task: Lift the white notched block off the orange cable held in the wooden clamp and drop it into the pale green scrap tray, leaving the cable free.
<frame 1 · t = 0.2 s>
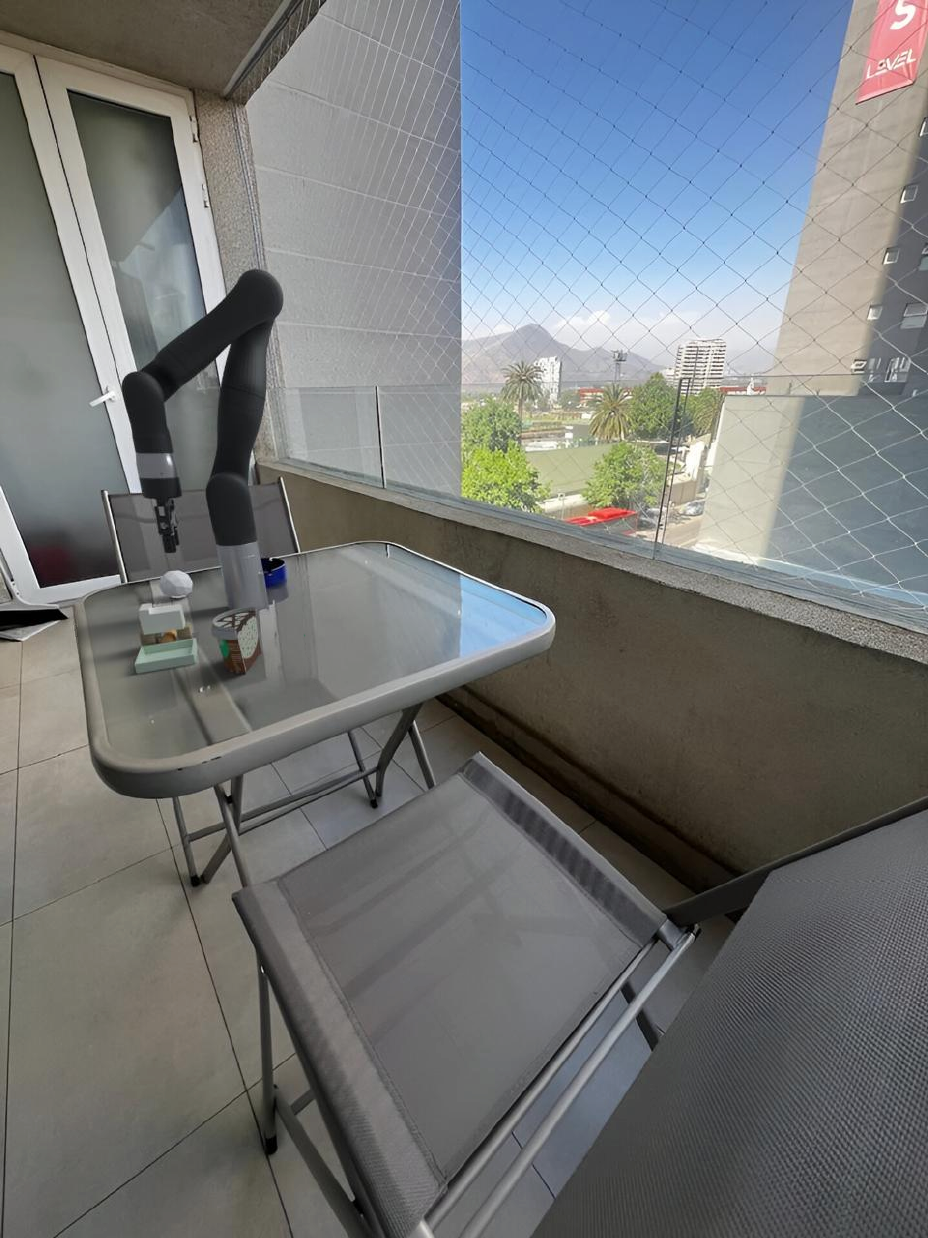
hand: (172, 549, 111), 17 cm above the table, tool pointing down, fingers open, 8 cm apart
mat: (171, 653, 99), on the table
food container: (238, 667, 93), on the table
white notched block: (165, 628, 100), point 5 cm above the table, touching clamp
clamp: (169, 645, 101), resting on mat
ball: (179, 598, 133), on the table
tray: (169, 659, 95), resting on mat
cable: (170, 642, 103), resting on mat
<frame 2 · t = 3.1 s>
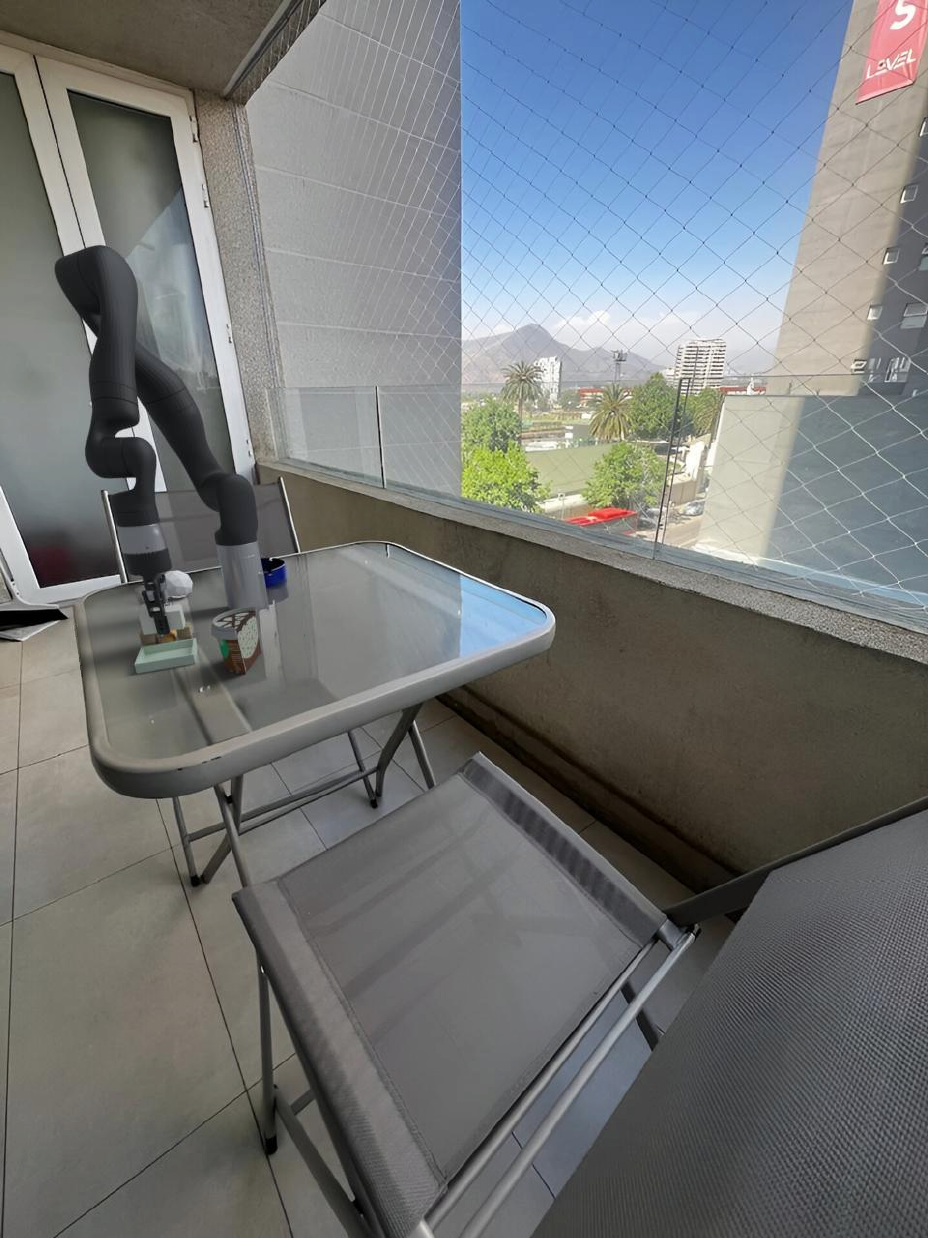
hand: (165, 629, 100), 4 cm above the table, tool pointing down, fingers closed on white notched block, 4 cm apart
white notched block: (165, 628, 100), point 5 cm above the table, touching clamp, gripper
everything else where it was.
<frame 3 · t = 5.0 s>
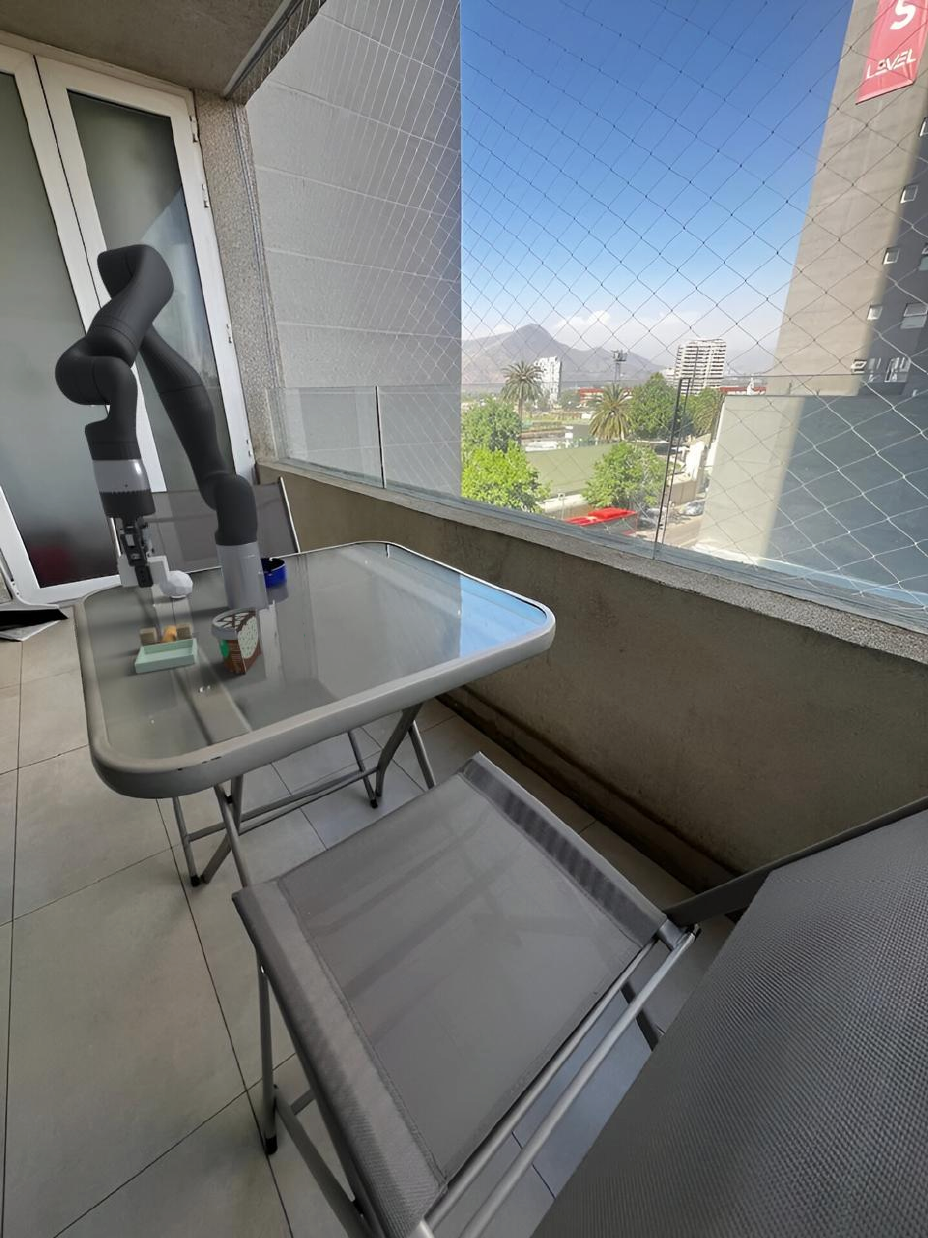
hand: (148, 582, 90), 16 cm above the table, tool pointing down, fingers closed on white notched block, 4 cm apart
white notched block: (147, 581, 89), point 16 cm above the table, touching gripper
everything else where it was.
when the fingers open (3 cm above the table, at t = 7.2 s): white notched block drops 2 cm, resting on tray.
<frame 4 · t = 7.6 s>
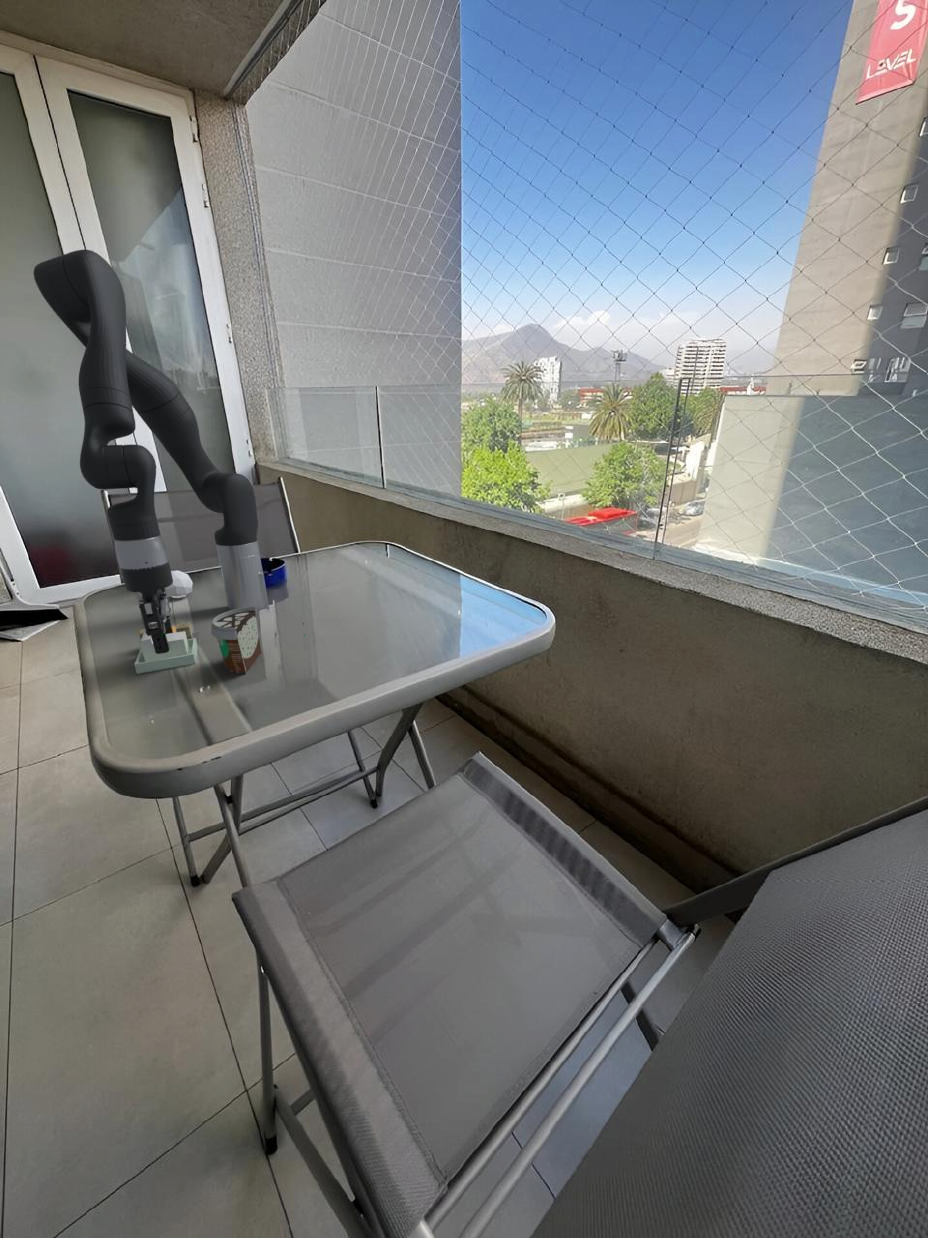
hand: (165, 644, 94), 4 cm above the table, tool pointing down, fingers open, 8 cm apart
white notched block: (168, 657, 95), point 1 cm above the table, touching tray
everything else where it was.
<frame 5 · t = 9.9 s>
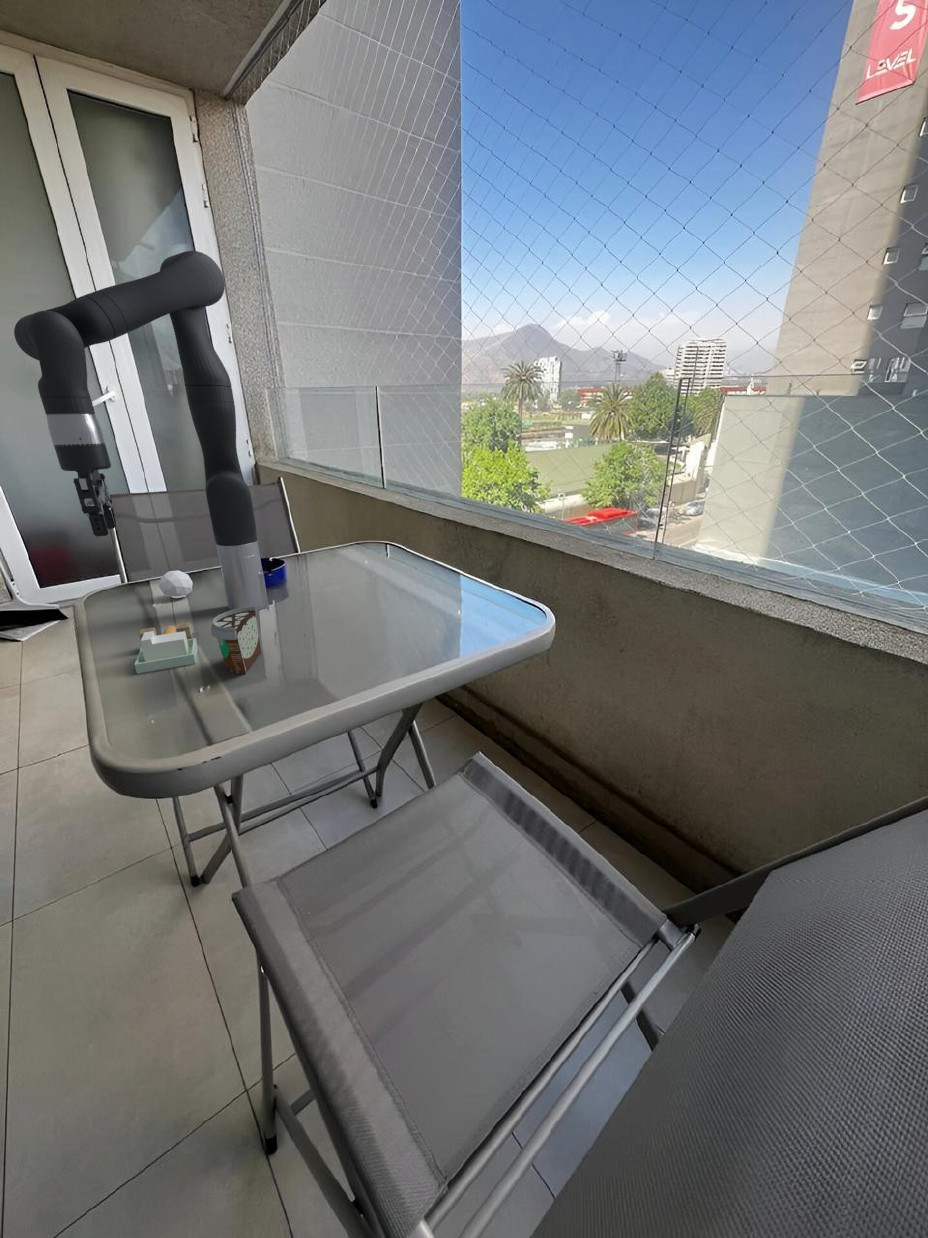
hand: (105, 532, 93), 24 cm above the table, tool pointing down, fingers open, 8 cm apart
nothing on the table moved.
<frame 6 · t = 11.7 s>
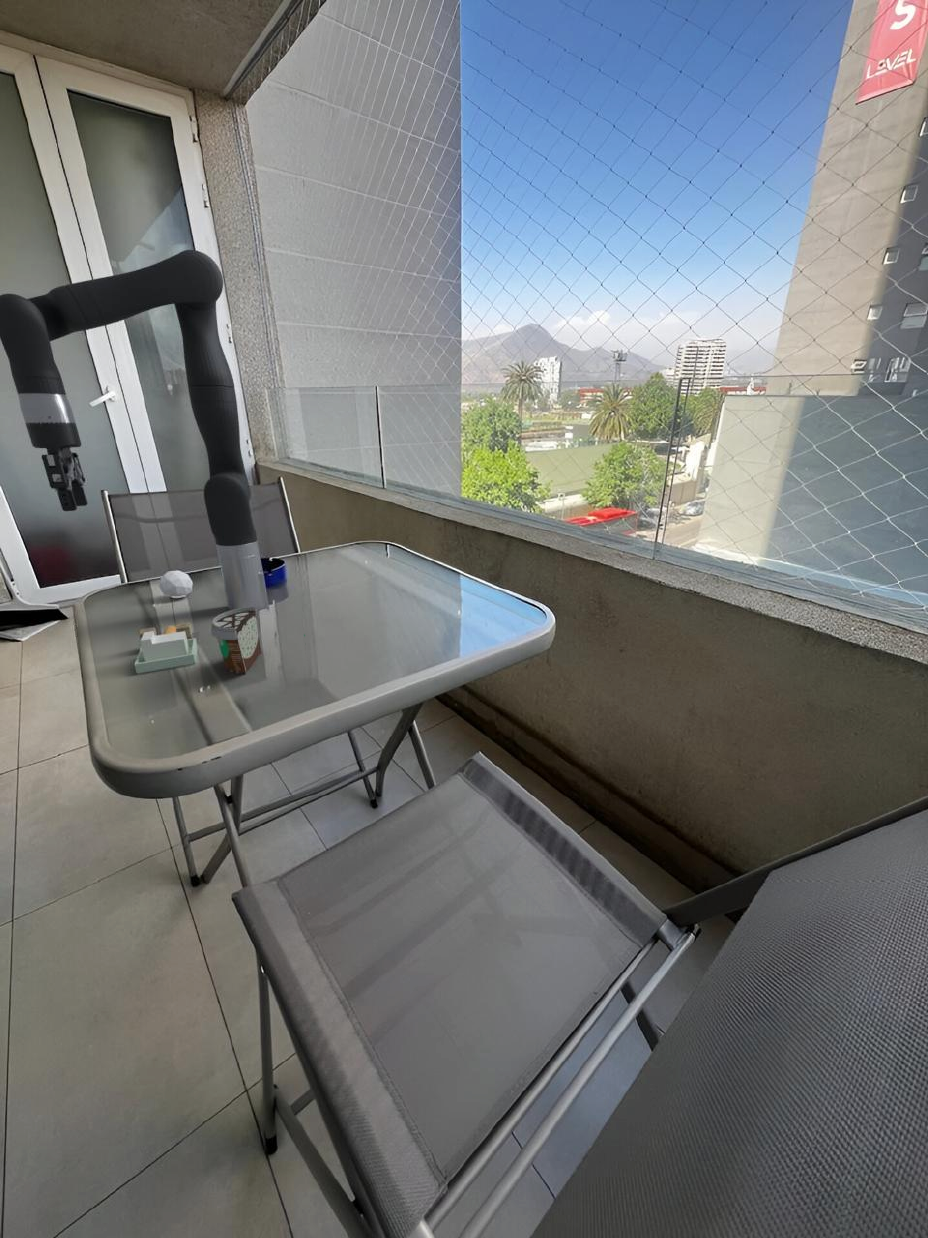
hand: (76, 508, 98), 28 cm above the table, tool pointing down, fingers open, 8 cm apart
nothing on the table moved.
at the end: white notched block inside the target area on the tray (0.3 cm from its centre), point 0.4 cm above the tray's base; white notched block touching tray; the gripper is holding nothing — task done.
